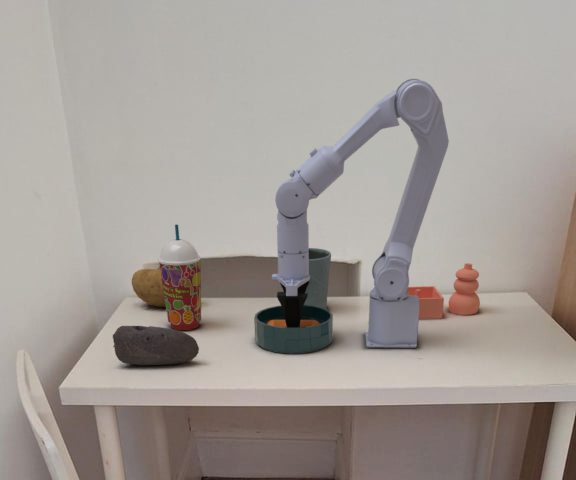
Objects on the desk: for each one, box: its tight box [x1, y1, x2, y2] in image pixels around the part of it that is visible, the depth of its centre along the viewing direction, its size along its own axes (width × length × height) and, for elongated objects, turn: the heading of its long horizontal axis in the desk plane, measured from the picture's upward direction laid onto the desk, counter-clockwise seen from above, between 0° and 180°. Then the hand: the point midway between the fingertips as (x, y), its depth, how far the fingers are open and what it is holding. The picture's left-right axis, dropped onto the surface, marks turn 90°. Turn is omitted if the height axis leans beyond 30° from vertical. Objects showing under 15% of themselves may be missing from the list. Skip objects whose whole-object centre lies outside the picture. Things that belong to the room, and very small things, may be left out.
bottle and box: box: [407, 262, 481, 320], centre depth 159 cm, size 18×10×10 cm, turn 92°
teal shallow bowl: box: [253, 305, 334, 355], centre depth 145 cm, size 15×15×5 cm
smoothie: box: [157, 224, 202, 331], centre depth 150 cm, size 8×8×20 cm
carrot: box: [267, 320, 320, 327], centre depth 145 cm, size 11×4×4 cm, turn 87°
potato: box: [131, 268, 166, 308], centre depth 166 cm, size 10×14×8 cm
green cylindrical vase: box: [304, 247, 332, 310], centre depth 161 cm, size 10×10×12 cm
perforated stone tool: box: [112, 325, 200, 366], centre depth 134 cm, size 15×5×7 cm, turn 88°
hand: (294, 323), depth 144 cm, fingers open, 7 cm apart
